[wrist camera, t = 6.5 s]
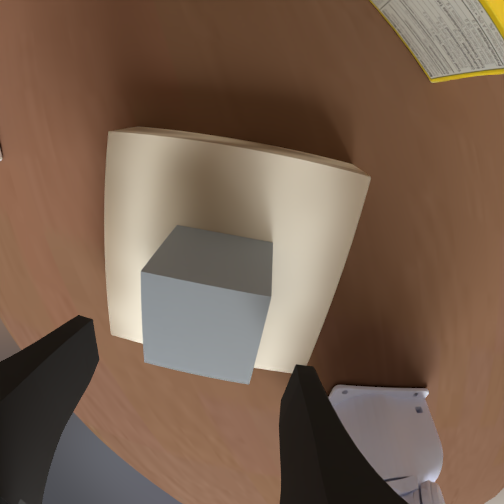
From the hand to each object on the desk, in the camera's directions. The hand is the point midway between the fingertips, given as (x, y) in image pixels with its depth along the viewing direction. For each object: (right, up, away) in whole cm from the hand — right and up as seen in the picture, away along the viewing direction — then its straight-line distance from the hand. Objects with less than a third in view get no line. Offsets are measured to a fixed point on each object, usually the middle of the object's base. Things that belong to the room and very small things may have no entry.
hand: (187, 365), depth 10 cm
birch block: (+1, +5, +9) cm, 10 cm away
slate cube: (+1, +3, +5) cm, 6 cm away
